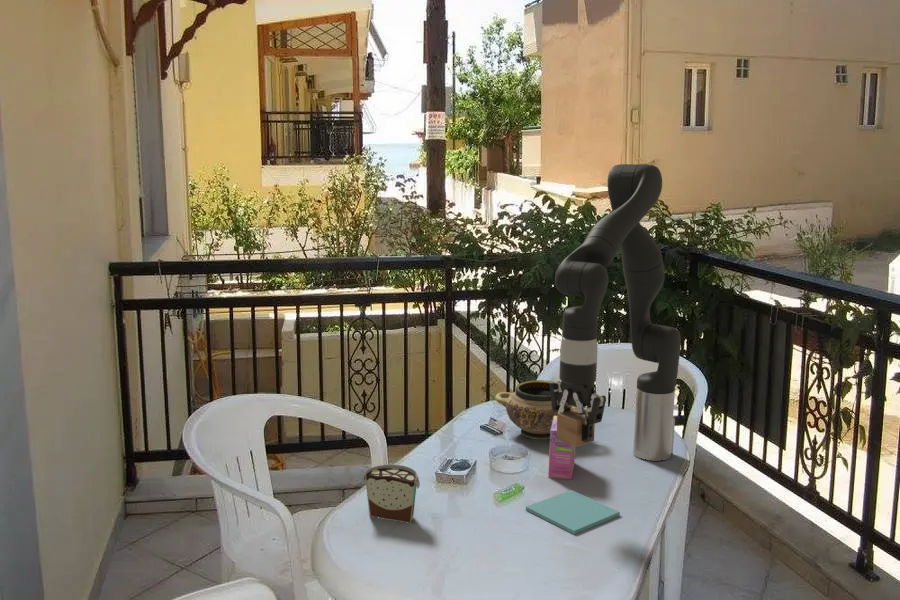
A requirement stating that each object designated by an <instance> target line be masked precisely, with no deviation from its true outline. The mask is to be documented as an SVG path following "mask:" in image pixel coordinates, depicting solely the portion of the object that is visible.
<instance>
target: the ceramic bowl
mask: <svg viewBox="0 0 900 600" xmlns="http://www.w3.org/2000/svg"><path fill="white" fill-rule="evenodd" d="M553 382H554V381H550V380H545V379H544V380H543V379H540V380H539V379H538V380H537V379H536V380H534V379H533V380H526V381H523V382H520V383H518V384H517V385H516V386H515V391H514V392H509V391H508V392H507V391H502V392H501V391H500V392H498V393H497V394H496V395H495V397H494V399H495V401H496V403H498V404H500V405H501V406H503V407H504V408H505V409H506V414H507V416H508V417H509V419H510V421H511V422H512V423H513V424H514V425H515V426H516V427H518V428H519V429H520V433H521V435H523V436H525V437H526V438H529V439H534V440H547V439H548V440H549V439H550V430H551V426H552V421H553V417H554V416H557V414H558V412H557V411H553V410H552V404H551V394H550V383H553ZM557 404H558V399H557ZM583 408H584V409H586V408H587V406H585V407H583ZM573 409H577V408H576V407H575V406H572V408H571V410H573Z"/></svg>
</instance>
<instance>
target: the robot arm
mask: <svg viewBox="0 0 900 600" xmlns="http://www.w3.org/2000/svg"><path fill="white" fill-rule="evenodd" d="M662 190H663V177H662V172H661V171H660V168H658V167H657V166H656V165H653V164H645V163H644V164H643V163H639V164H638V163H637V164H635V163H634V164H633V163H632V164H628V163H623V164H622V163H621V164H615V165H614V166H612V167H611V168H610V170H609V172H608V176H607V194H608V199H609V202H610V207H611V210H612V212H610V213H608V214H607V215H605V216H604V217H602V218H600V220H598V221H597V223H595V224H594V225H593V227H592V228H591V230H590V231H589V233H588V234H587V235H586V238H585V239H584V241H583V243H582V244H581V245H580V246H579V247H577V248H576V249H575V250H573V251H572V252H571V253H570V254H569V255H568V256H566V257H565V258H564V259H563V260H562V261H561V263H560V264H559V265H558V267H557V269H556V271H555V275H554V284H555V288H556V290H557V291H558V292H559V293H560V294H563V295H565V296H566V295H567V296H572V297H579V298H580V297H581V298H585V299H584V302H583V304H582V305H581V306H571V307H567V308H565V310H564V311H563V313H562V314H563V315H562V324H561V325H562V327H561V328H562V329H561V342H560V349H559V350H560V352H559V353H560V354H559V374H558V375H559V376H558V377H559V380H558V381H552V382H553V383H550V394H551V404H552V410H553V411H557V412H558V414H559V413H563V412H566V411H570V410H571V408H572V406H575V407H576V408H577V409H578V413H579V414H580V415H581V418H582V422H583V424H582V441H584V442H587V441H590V440H591V439H592V437H593V424H598V423H601V422H602V420H603V416H604V413H605V412H604V411H605V406H606V403H607V397H606V395H599V394H598V393H596V390H595V388H594V386H595V383H596V381H597V373H598V372H597V368H598V367H597V366H598V365H597V364H598V341H597V340H598V339H597V338H598V321H599V320H598V319H599V316H600V312H601V307H602V303H603V300H604V297H605V295H606V292H607V289H608V285H609V274H608V273H609V272H608V271H607V269H606V268H608V266H610V265H611V263H612V262H613V261H614V258H615V257H616V255H617V254H618V252H619V250H620V253H621V254H620V256H621V263H622V265H621V266H622V270H623V276H624V281H625V287H626V292H627V299H628V300H627V301H628V307H629V309H628V310H629V321H630V322H629V324H630V340H631V341H630V342H631V347H632V352H633V354H634V356H635V358H637V359H639V360H641V361H642V360H643V361H647V362H651V363H655V364H657V365H658V366H657V370H656V371H651V372H650V371H649V372H645V373H642V374H640V375H639V376H638V377H637V379H636V392H635V395H636V396H635V410H634V411H635V412H634V432H633V448H632V449H633V450H632V453H634V454H633V455H634V456H635V457H637V458H638V459H641V458H642V460H645V459H646V460H645V461H650V460H652V462H660V461H661V460H663V461H666V460H665V459H667V460H669V459H670V458H671V457H670V456H672V454H671V453H673V454H674V440H675V439H674V438H675V429H676V428H675V426H676V425H675V424H676V418H675V417H674V412H675V411H674V409H675V396H676V394H675V393H676V384H677V379H678V374H679V365H680V357H681V356H680V355H681V348H682V347H681V346H682V340H681V339H682V338H681V333H680V330H678V329H677V328H676V327H673V326H667V325H661V324H655V323H653V322H651V321H652V320H651V313H650V312H651V311H650V310H651V307H652V304H653V302H654V301H655V299H656V298H657V296H658V294H659V292H660V291H661V289H662V287H663V285H664V283H665V276H666V275H665V267H664V259H663V254H662V251H661V249H660V247H659V245H658V244H657V242H656V241H655V240H654V239H653V238H652V236H651V235H650V234H649V232H647V230H646V229H645V228H644V227H643V225H642V224H641V221H642V220H643V218H645V216H646V215H647V214H648V213H649V211H650V210H651V209H652V208H653V207H654V206H655V204H656V203H657V202H658V200H659V198H660V195H661V193H662ZM557 399H558V404H557ZM585 406H586V407H585ZM583 407H585V408H583ZM586 413H587V414H588V418H587V414H586ZM669 457H670V458H669ZM668 458H669V459H668Z"/></svg>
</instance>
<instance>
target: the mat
mask: <svg viewBox="0 0 900 600" xmlns="http://www.w3.org/2000/svg"><path fill="white" fill-rule="evenodd" d="M525 511H526V512H529V513H531V514H532V515H534V516H536V517H539V518H540V519H542V520H544V521H545V522H546V521H547V522H549V524H550V523H551V524H552V525H554V526H557V527H558V528H561V529H562V530H564V531H566V532H569V533H570V534H572V535H576V534H579V533H581V532H583V531H586V530H589V529H591V528H593V527H596V526H599V525H600V524H602V523H605V522H607V521H609V520H612V519H615V518H617V517H619V516H621V512H620V511H619V510H616V509H614V508H612V507H610V506H608V505H606V504H603V503H601V502H599V501H597V500H594V499H592V498H590V497H588V496H585V495H583V494H582V493H579V492H577V491H575V490H572V489H570V490H567V491H565V492H562V493H559V494H557V495H554V496H551V497H549V498H545V499H544V500H543V499H542V500H540V501H538V502H537V501H536V502H535V503H532V504H530V505H526V506H525Z"/></svg>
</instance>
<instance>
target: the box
mask: <svg viewBox="0 0 900 600" xmlns="http://www.w3.org/2000/svg"><path fill="white" fill-rule="evenodd" d="M556 438H557V416H554V417H553V421H552V426H551V430H550V438H549V452H548V453H549V455H548V472H547V473H548V474H547V477H548V478H552V479H553V478H554V479H563V480H573V473H574V467H575V457H576V447H575V446H573V445H570V444H568V443H565V442H563V441H560V440H558V439H556Z"/></svg>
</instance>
